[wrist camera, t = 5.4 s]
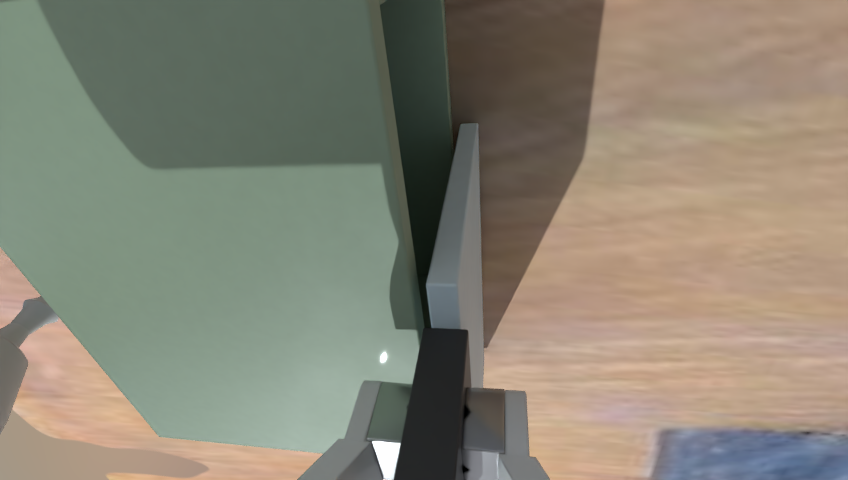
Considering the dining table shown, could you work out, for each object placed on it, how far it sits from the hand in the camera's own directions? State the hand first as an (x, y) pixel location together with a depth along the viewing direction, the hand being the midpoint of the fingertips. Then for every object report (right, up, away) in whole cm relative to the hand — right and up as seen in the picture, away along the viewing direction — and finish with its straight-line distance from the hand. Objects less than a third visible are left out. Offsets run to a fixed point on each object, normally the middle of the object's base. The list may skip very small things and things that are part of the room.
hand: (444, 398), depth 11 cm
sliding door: (+2, +3, +12) cm, 13 cm away
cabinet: (-5, +9, +10) cm, 14 cm away
